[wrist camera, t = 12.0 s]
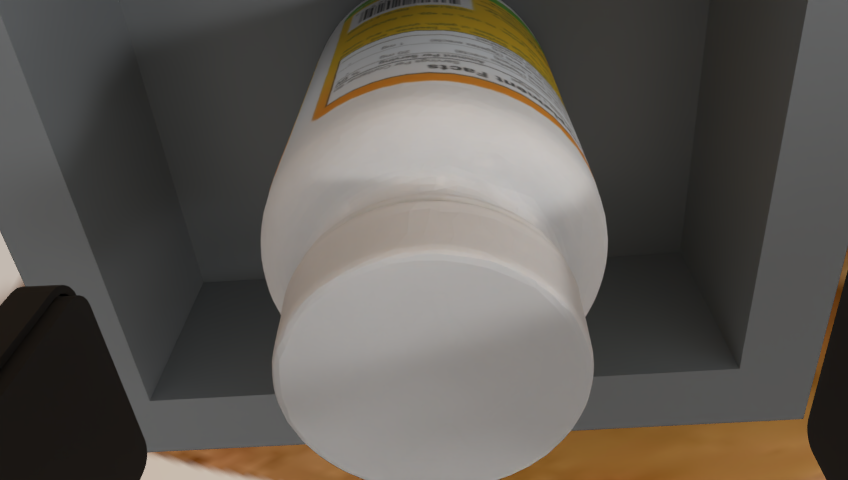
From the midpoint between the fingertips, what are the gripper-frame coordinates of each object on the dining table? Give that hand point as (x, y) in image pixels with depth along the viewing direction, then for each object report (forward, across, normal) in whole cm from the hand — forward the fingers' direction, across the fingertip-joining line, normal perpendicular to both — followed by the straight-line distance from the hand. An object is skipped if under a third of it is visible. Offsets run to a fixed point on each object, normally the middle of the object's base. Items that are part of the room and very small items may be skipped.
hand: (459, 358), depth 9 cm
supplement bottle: (+9, +1, 0) cm, 9 cm away
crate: (+10, +1, 0) cm, 10 cm away
